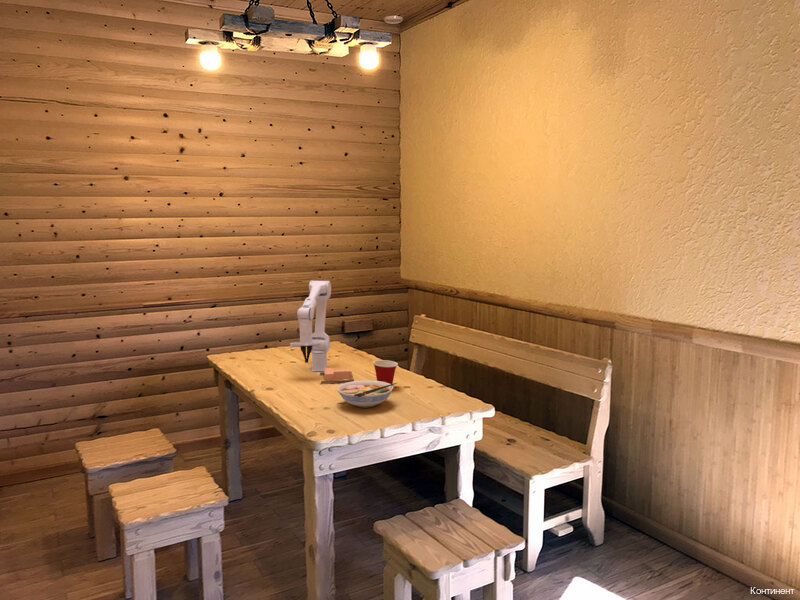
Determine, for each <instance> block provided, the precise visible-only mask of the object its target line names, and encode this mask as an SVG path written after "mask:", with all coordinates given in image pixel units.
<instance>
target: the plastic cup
mask: <svg viewBox="0 0 800 600" xmlns="http://www.w3.org/2000/svg"><path fill="white" fill-rule="evenodd" d="M372 363H373V366H374V371H375V376H376V381H381V382H386V383H389V384H392V385H393V384H394V383H393V382H394V377H395V373H396V369H397V367H398V365H399V363H398V362H396V361H394V360H389V359H388V360H387V359H386V360H385V359H378V360H374V361H373V362H372Z"/></svg>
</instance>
